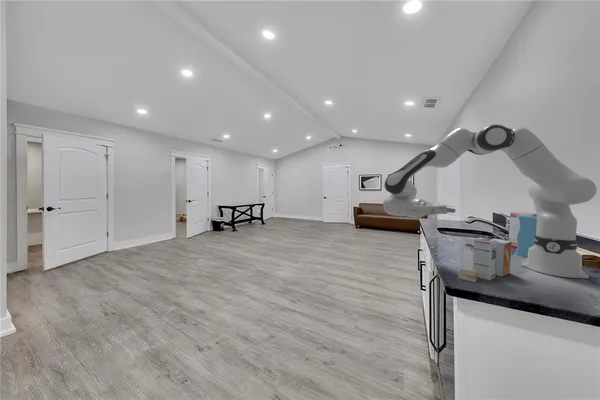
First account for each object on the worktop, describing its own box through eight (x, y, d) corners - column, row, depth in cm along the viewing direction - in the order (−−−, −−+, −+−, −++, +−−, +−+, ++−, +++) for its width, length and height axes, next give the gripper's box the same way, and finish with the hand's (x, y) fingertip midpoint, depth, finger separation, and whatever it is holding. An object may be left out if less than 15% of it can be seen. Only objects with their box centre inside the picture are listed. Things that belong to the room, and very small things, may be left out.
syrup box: (490, 280, 86) (492, 241, 85) (471, 275, 91) (473, 238, 90) (495, 277, 89) (497, 239, 89) (476, 272, 94) (479, 236, 93)
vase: (516, 252, 128) (518, 215, 127) (536, 255, 122) (539, 217, 121) (515, 255, 122) (518, 216, 121) (537, 258, 117) (540, 218, 116)
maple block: (461, 275, 91) (462, 267, 91) (477, 279, 88) (478, 271, 88) (458, 278, 88) (458, 270, 88) (474, 282, 84) (475, 274, 84)
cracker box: (540, 251, 130) (543, 214, 129) (529, 251, 130) (532, 213, 129) (517, 245, 144) (520, 211, 143) (507, 245, 144) (509, 211, 143)
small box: (502, 277, 90) (505, 243, 89) (482, 272, 95) (484, 240, 94) (510, 273, 94) (512, 241, 94) (490, 268, 100) (492, 238, 99)
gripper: (406, 202, 102) (441, 204, 91) (426, 201, 115) (459, 203, 104) (405, 216, 102) (440, 220, 92) (426, 214, 115) (458, 217, 105)
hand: (450, 211), depth 98 cm, fingers open, 8 cm apart
